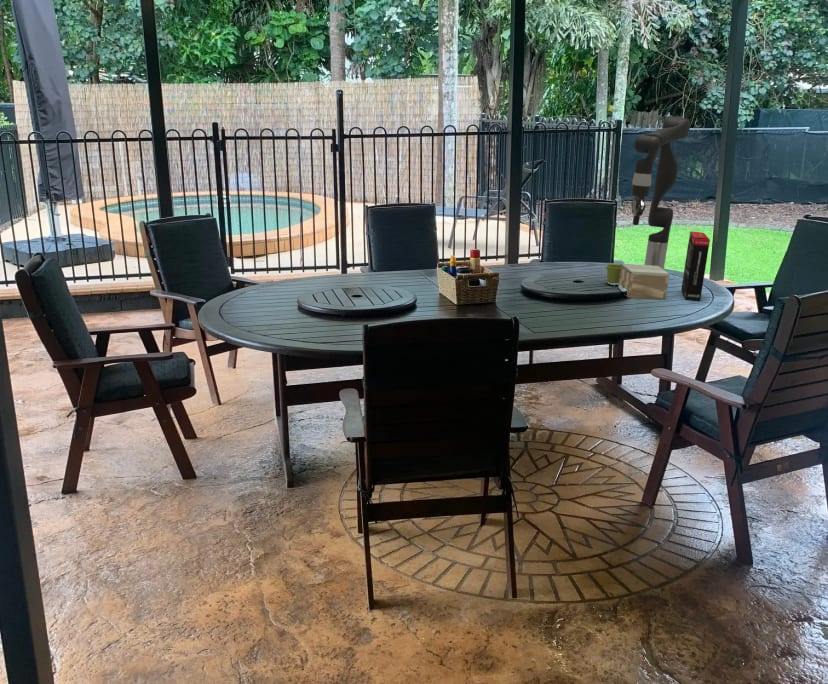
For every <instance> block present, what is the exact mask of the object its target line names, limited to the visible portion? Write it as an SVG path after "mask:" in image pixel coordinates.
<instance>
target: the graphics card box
mask: <svg viewBox="0 0 828 684" xmlns="http://www.w3.org/2000/svg"><path fill="white" fill-rule="evenodd" d="M710 241H711V239H710V238H709V237H708V236H707V235H706V234H705V232H700V231H691V230H690V232H689V237H688V244H687V250H686V256H685V262H684V263H685V264H684V270H683V277H682V282H681V293H682V296H683V297H684V299H685V300H687V299H691V300H690V301H701V297H702V292H703V291H702V290H703V285H704V279H705V273H706V269H707V268H706V267H707V261H708V254H709V248H710Z"/></svg>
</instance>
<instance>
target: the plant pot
mask: <svg viewBox="0 0 828 684" xmlns="http://www.w3.org/2000/svg"><path fill="white" fill-rule="evenodd" d="M605 267H606V276H607V278H606V279H607V280H606V281H607V282H610V283H619V278H620V271H621V266H620V264H617V263H615V264H614V263H609V264H608V263H607V264H606V265H605ZM607 282H606V283H607Z"/></svg>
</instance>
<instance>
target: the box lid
mask: <svg viewBox="0 0 828 684" xmlns="http://www.w3.org/2000/svg"><path fill="white" fill-rule="evenodd" d="M619 265H620V266H621V267H622V268H623V269H625V270H626V271H627V272H629V273H630V274H638V275H655V276H669V277H670V273H669V272H667V271H666V270H665V268H664V269H662V268H660V267H659V266H652V265H644V264H636V263H635V264H631V263H629V264H628V263H619Z"/></svg>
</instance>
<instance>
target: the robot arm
mask: <svg viewBox="0 0 828 684" xmlns="http://www.w3.org/2000/svg"><path fill="white" fill-rule="evenodd" d="M690 129H691V122H690V120H689V119H688V118H684V117H681V116H673V115H667V116H666V117H665V119H664V120H663V123H662V128H659V129H656V130H654V131H652V132H650V133H648V132H647V133H643V134H640V135H638V136H637V137H636V139H635V140H634V143H633V146H634V147H633V148H634V150H635V151H636V152H637V153H639V154H640V153H641V154H648V155H647V156H646V157H644V158H638V159H637V160H636V162H635V167H634V174H633V176H632V177H633V178H632V182H631V183H632V184H631V185H632V186H631V189H630V190H631V191H630V194H631V196H634V197H633V200H632V201H631V213H632V217H633V218H632V219H633V220H632V225H634V226H639V223H640V217H641V216H643V214H644V211H645V209H646V208H647V207H646V204H645V201H646V200H645V197H649V195H650V192H651V185H652V184H651V183H652V175H653V174H652V173H653V167H654V164H655V160H656V157H657V155H658V153H659V156H658V161H657V165H656V166H657V167H656V172H655V181H654V186H653V194H652V199H651V203H650V208H649V211H648V218H647V224H648V226H649V227H652V228H653V227H654V228H662V230H660V231H658V232H653V233H650V234H649V235H648V238H647V239H648V240H647V246H646V252H645V259H644V264H643V265H652V266H659V267H660V268H662V269H664V270H665V264H666V258H667V253H668V252H667V251H668V245H669V238H670V232H671V228H672V222H673V218H674V210H673V208H671V207H670V208H669V207H660V206H659V205H660V203H661V200H663V197H664V196H666V194H667V193H668V192H669V190H671V189H672V188H673V187H674V185H675V183H676V181H677V177H678V171H679V165H678V162H677V159H676V157H675V155H674V152H673V149H672V142H674V141H678V140H683V139H686V138H687V136H688V135H689V132H690Z"/></svg>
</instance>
